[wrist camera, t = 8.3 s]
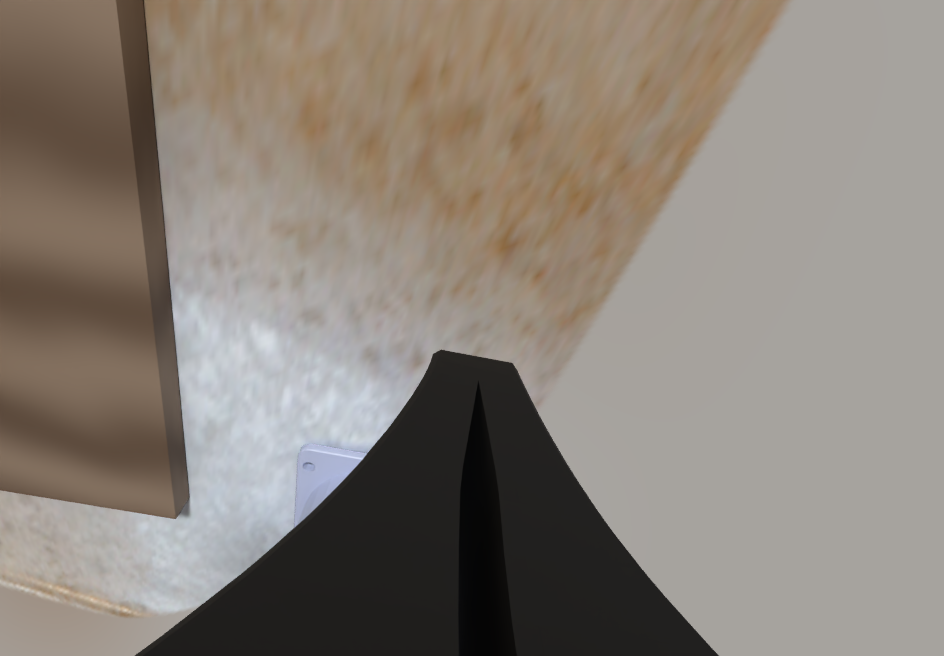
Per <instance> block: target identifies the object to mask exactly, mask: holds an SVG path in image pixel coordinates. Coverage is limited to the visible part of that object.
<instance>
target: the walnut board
mask: <svg viewBox="0 0 944 656" xmlns="http://www.w3.org/2000/svg"><path fill="white" fill-rule="evenodd" d="M0 490H2V491H8V492H14V493H20V494H26V495H32V496H38V497H45V498H51V499H57V500H63V501H69V502H75V503H81V504H87V505H93V506H99V507H105V508H111V509H118V510H124V511H130V512H136V513H142V514H148V515H154V516H160V517H166V518H172V519H176V518H177V516H178V515H179V513H180V512H181V510H182V509H183V507H184V505H185V504H186V502H187V501H188V499H189V490H188V479H187V468H186V457H185V447H184V436H183V425H182V414H181V404H180V393H179V382H178V371H177V361H176V350H175V339H174V328H173V318H172V307H171V296H170V286H169V275H168V264H167V253H166V243H165V232H164V221H163V210H162V200H161V189H160V178H159V167H158V157H157V146H156V135H155V124H154V114H153V103H152V92H151V81H150V71H149V60H148V49H147V39H146V28H145V17H144V6H143V0H0Z"/></svg>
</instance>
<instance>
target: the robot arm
mask: <svg viewBox="0 0 944 656" xmlns="http://www.w3.org/2000/svg"><path fill="white" fill-rule="evenodd" d="M307 462H310V463H312V464H313V465H311V464H309V463H307ZM135 656H718V654H717V653H716V652H715V651H714V650H713V649H712V648H711V647H710V646H709V645H708V644H707V643H706V641H705V640H704V639H703V638H702V637H701V636H700V635H699V634H698V633H697V631H696V630H695V629H694V628H693V627H692V626H691V625H690V624H689V623H688V622H687V620H686V619H685V618H684V617H683V616H682V615H681V614H680V613H679V612H678V610H677V609H676V608H675V607H674V606H673V605H672V604H671V603H670V602H669V600H668V599H667V598H666V597H665V596H664V595H663V594H662V592H661V591H660V590H659V589H658V588H657V587H656V586H655V584H654V583H653V582H652V581H651V580H650V578H649V577H648V576H647V575H646V574H645V572H644V571H643V570H642V569H641V567H640V566H639V565H638V564H637V562H636V561H635V560H634V558H633V557H632V556H631V555H630V553H629V552H628V551H627V550H626V548H625V547H624V546H623V544H622V543H621V542H620V541H619V539H618V538H617V537H616V535H615V534H614V533H613V532H612V530H611V529H610V527H609V526H608V525H607V523H606V522H605V521H604V519H603V518H602V516H601V515H600V513H599V512H598V511H597V509H596V508H595V506H594V505H593V503H592V502H591V500H590V499H589V497H588V496H587V494H586V493H585V491H584V490H583V488H582V487H581V485H580V484H579V482H578V481H577V479H576V478H575V476H574V474H573V473H572V471H571V470H570V468H569V466H568V465H567V463H566V462H565V460H564V458H563V456H562V455H561V453H560V451H559V450H558V448H557V446H556V444H555V443H554V441H553V439H552V437H551V436H550V434H549V432H548V431H547V429H546V427H545V425H544V423H543V422H542V420H541V418H540V416H539V414H538V412H537V410H536V408H535V406H534V404H533V402H532V400H531V398H530V396H529V394H528V392H527V390H526V388H525V386H524V384H523V382H522V380H521V378H520V376H519V373H518V371H517V369H516V368H515V366H514V365H513V363H509V362H504V361H499V360H493V359H488V358H482V357H477V356H472V355H466V354H461V353H456V352H450V351H445V350H440V351H438V352H436V353H434V354H433V356H432V359H431V362H430V365H429V367H428V369H427V371H426V373H425V375H424V377H423V379H422V380H421V382H420V384H419V385H418V387H417V389H416V390H415V392H414V393H413V395H412V396H411V398H410V399H409V401H408V402H407V403H406V405H405V406H404V408H403V409H402V411H401V412H400V413H399V415H398V416H397V418H396V419H395V420H394V422H393V423H392V424H391V426H390V427H389V428H388V429H387V431H386V432H385V433H384V434H383V435H382V437H381V438H380V439H379V440H378V441H377V443H376V444H375V445H374V446H373V447H372V449H371V450H370V451H369V452H368V453H361V452H356V451H350V450H344V449H339V448H333V447H328V446H322V445H316V444H305V445H303V446H302V447H301V449H300V451H299V454H298V463H297V481H296V499H295V517H294V529H292V530H291V531H290V532H289V533H288V534H287V535H286V536H285V537H284V538H283V539H281V540H280V541H279V542H278V543H277V544H276V545H275V546H274V547H273V548H271V549H270V550H269V551H268V552H267V553H266V554H264V555H263V556H262V557H261V558H260V559H259V560H257V561H256V562H255V563H254V564H253V565H252V566H250V567H249V568H248V569H247V570H246V571H244V572H243V573H242V574H241V575H239V576H238V577H237V578H236V579H234V580H233V581H232V582H230V583H229V584H228V585H227V586H225V587H224V588H223V589H221V590H220V591H219V592H218V593H216V594H215V595H214V596H213V597H211V598H210V599H209V600H207V601H206V602H205V603H204V604H202V605H201V606H200V607H198V608H197V609H196V610H195V611H193V612H192V613H191V614H189V615H188V616H187V617H186V618H184V619H183V620H182V621H180V622H179V623H178V624H177V625H175V626H174V627H173V628H171V629H170V630H169V631H168V632H166V633H165V634H164V635H163V636H161V637H160V638H158V639H157V640H156V641H154V642H153V643H151V644H150V645H149V646H147V647H146V648H145V649H143V650H142V651H141V652H139V653H138V654H136V655H135Z"/></svg>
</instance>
